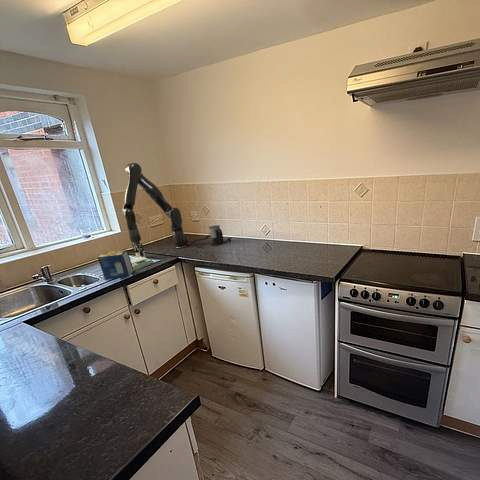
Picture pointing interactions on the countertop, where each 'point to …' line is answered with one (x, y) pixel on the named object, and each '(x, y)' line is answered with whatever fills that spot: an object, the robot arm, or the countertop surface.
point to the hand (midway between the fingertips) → (140, 255)
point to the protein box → (115, 264)
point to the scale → (140, 262)
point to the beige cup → (139, 254)
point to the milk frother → (217, 235)
